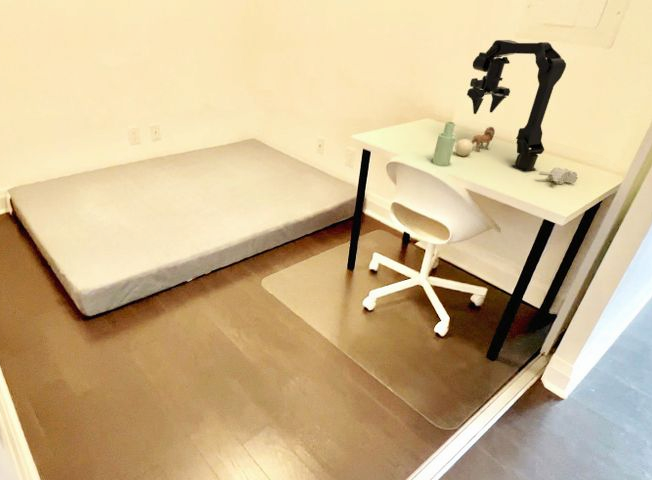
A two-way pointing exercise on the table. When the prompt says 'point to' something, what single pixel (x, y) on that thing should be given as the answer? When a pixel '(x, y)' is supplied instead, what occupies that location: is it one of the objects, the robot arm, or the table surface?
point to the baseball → (464, 147)
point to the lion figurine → (484, 138)
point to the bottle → (444, 145)
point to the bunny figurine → (561, 175)
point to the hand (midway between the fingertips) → (482, 113)
